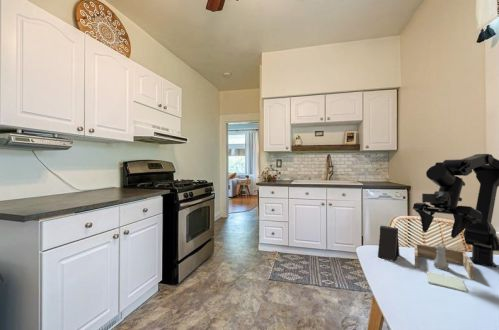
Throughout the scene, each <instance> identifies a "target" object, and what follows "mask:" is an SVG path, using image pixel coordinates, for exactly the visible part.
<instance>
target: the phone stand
mask: <svg viewBox="0 0 499 330" xmlns="http://www.w3.org/2000/svg"><path fill="white" fill-rule="evenodd" d="M377 250H378V251H377V257H378V258H380V257H381V259H384V258H385V259H386V260H388V259H389V261H394V262H396V261H397V259H398V258H399V257H400V244H399V229H398V227H393V226H388V225H387V226H386V225H380V227H379V241H378V249H377ZM397 257H398V258H397ZM385 259H384V260H385Z"/></svg>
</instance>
